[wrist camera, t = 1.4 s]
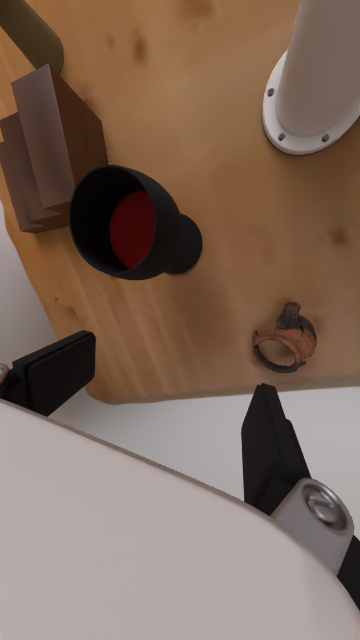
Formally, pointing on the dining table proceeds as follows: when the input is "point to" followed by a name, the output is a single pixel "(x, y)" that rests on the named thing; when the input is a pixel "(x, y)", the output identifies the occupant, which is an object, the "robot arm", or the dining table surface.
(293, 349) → the brown twisted piece
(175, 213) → the wine glass
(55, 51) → the olive peg figure
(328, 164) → the dining table surface
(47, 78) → the spice rack
